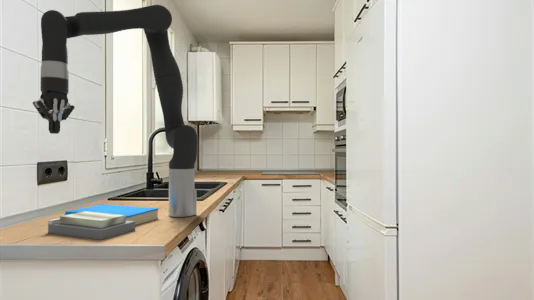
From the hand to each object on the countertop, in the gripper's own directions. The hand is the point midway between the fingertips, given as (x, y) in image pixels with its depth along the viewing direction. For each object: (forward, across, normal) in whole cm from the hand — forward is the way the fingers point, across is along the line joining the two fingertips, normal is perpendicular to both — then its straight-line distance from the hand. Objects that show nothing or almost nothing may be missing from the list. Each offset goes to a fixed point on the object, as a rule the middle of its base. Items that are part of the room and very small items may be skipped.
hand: (54, 133), depth 111 cm
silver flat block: (+26, 0, -16) cm, 31 cm away
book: (+30, +15, -9) cm, 34 cm away
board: (+29, 0, -16) cm, 33 cm away
